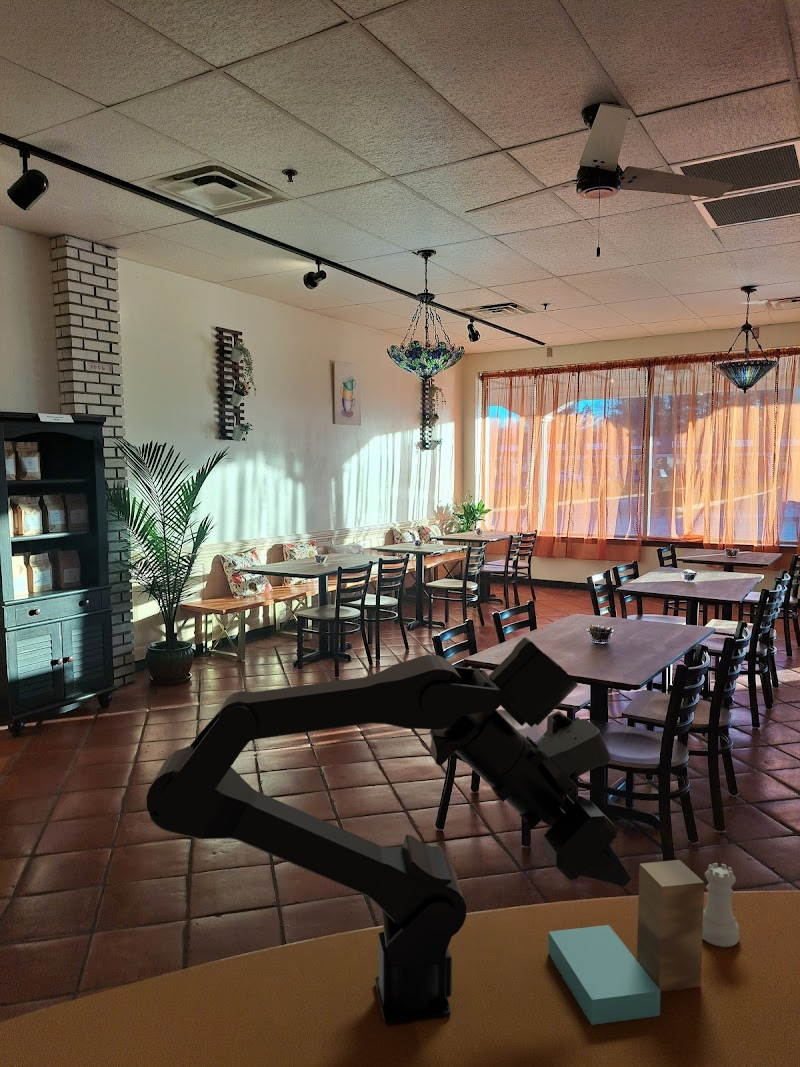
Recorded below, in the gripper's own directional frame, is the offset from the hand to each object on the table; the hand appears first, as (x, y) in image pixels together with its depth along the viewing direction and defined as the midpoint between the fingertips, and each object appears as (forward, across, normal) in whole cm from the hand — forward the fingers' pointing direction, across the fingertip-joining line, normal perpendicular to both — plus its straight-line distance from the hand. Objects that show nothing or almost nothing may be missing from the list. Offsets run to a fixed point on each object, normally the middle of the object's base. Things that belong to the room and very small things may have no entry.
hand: (607, 858), depth 77 cm
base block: (+9, 0, +10) cm, 13 cm away
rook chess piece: (+21, +6, -2) cm, 22 cm away
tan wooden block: (+14, 0, +4) cm, 15 cm away
